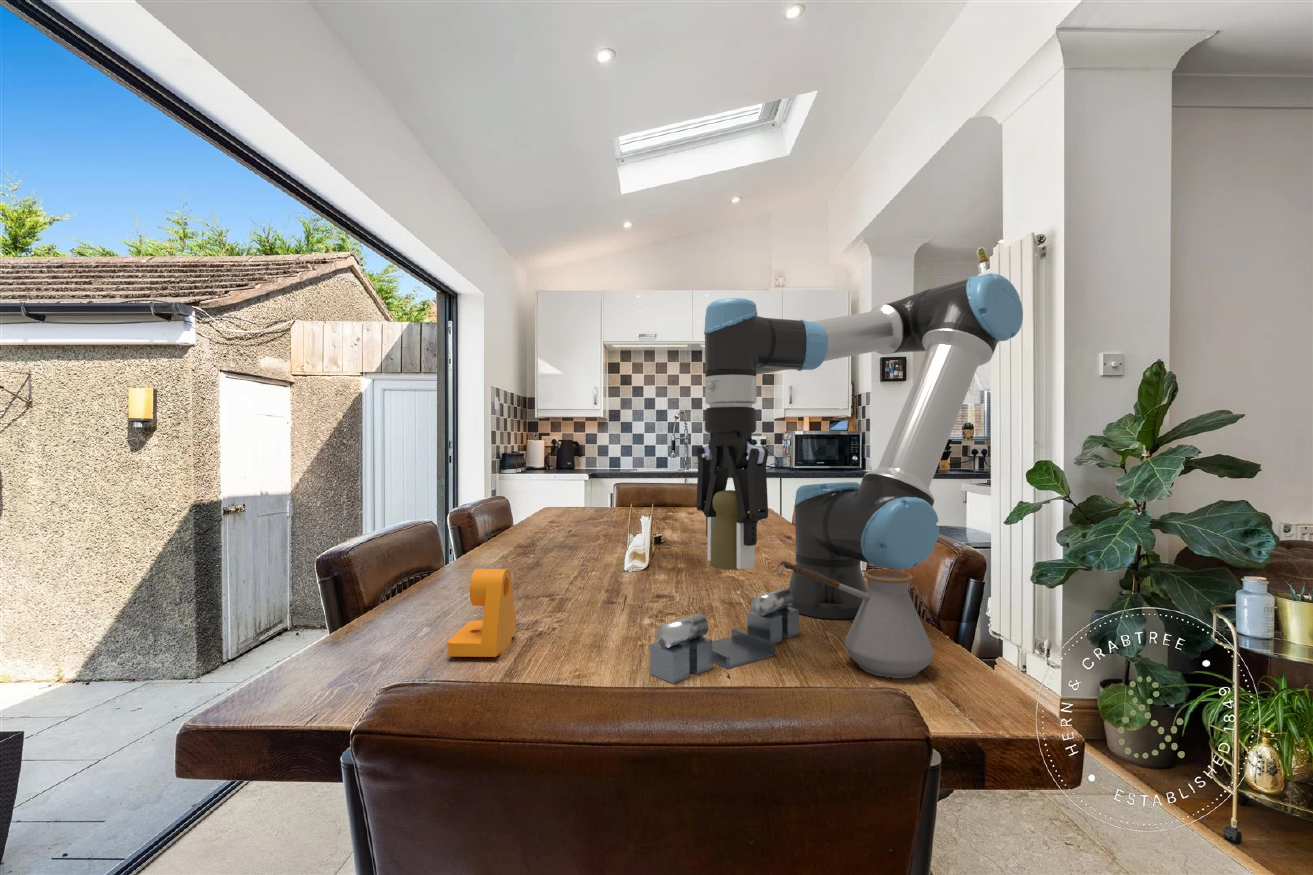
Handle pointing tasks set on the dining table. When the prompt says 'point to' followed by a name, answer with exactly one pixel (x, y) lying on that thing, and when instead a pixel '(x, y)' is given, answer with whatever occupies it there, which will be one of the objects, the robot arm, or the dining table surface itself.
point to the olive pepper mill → (725, 531)
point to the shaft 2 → (773, 616)
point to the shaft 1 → (681, 649)
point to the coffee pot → (882, 624)
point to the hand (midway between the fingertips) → (730, 563)
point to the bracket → (487, 617)
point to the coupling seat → (740, 649)
